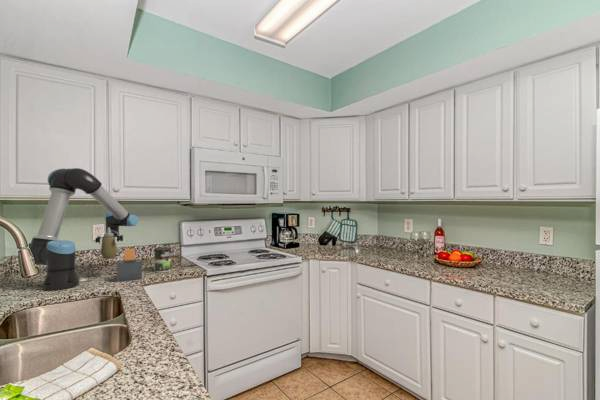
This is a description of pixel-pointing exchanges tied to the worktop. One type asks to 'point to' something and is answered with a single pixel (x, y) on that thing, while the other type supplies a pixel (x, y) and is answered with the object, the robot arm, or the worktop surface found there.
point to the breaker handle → (129, 255)
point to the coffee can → (162, 259)
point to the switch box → (129, 270)
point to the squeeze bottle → (108, 245)
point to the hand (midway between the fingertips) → (108, 241)
